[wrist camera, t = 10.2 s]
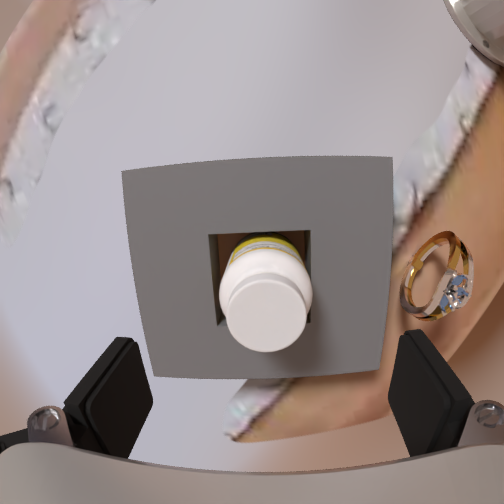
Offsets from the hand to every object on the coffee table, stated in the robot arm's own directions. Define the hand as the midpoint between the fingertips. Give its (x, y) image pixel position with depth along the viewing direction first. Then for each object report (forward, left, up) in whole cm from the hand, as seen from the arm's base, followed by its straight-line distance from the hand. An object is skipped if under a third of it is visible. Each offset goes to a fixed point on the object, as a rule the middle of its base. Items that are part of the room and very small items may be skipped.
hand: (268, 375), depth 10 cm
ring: (-13, +1, -16) cm, 20 cm away
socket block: (0, 0, -16) cm, 16 cm away
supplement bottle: (0, 0, -15) cm, 15 cm away
